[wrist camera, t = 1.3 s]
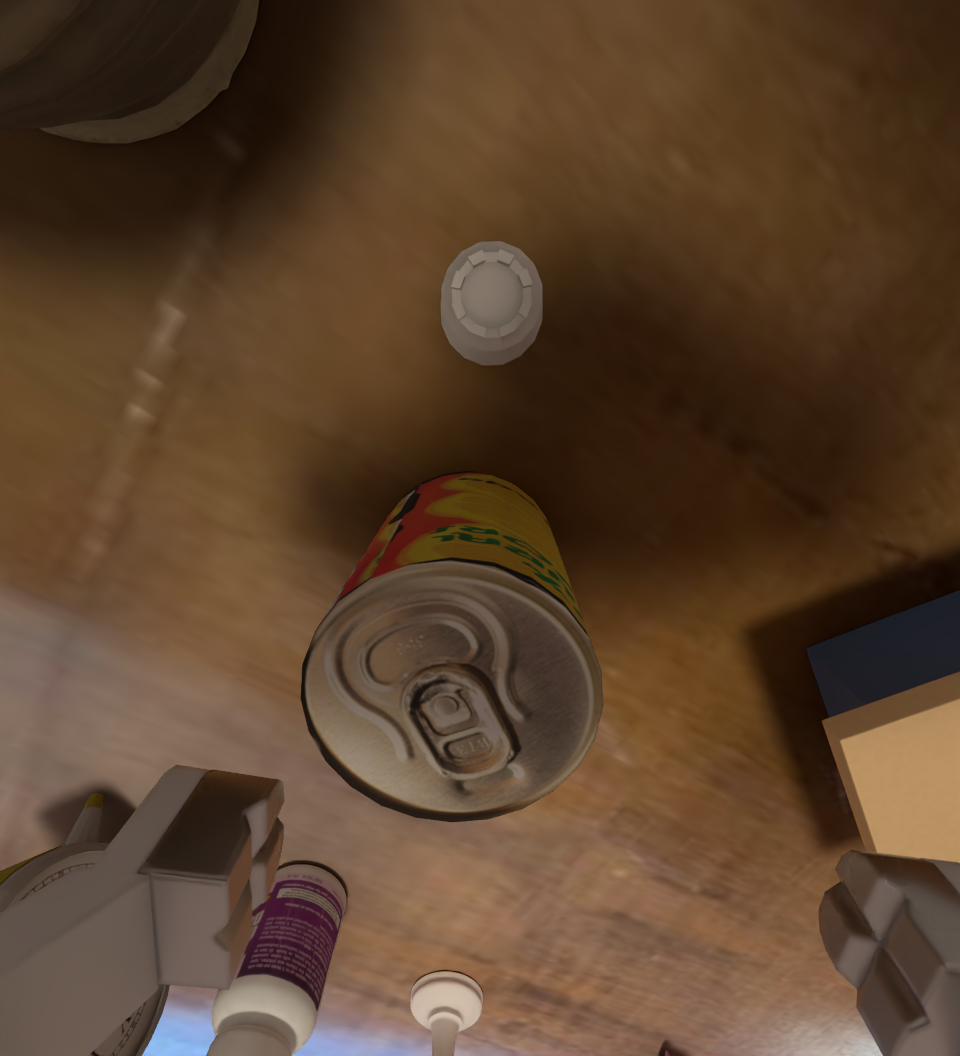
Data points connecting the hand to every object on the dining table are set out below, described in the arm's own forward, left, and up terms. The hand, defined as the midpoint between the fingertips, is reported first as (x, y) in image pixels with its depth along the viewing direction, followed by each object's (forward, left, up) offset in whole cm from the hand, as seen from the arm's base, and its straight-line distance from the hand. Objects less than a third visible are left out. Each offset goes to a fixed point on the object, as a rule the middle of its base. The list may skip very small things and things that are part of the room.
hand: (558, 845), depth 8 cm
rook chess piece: (-3, -8, -20) cm, 22 cm away
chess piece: (+18, +30, -20) cm, 40 cm away
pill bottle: (+22, +18, -20) cm, 35 cm away
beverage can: (+3, +2, -20) cm, 20 cm away
